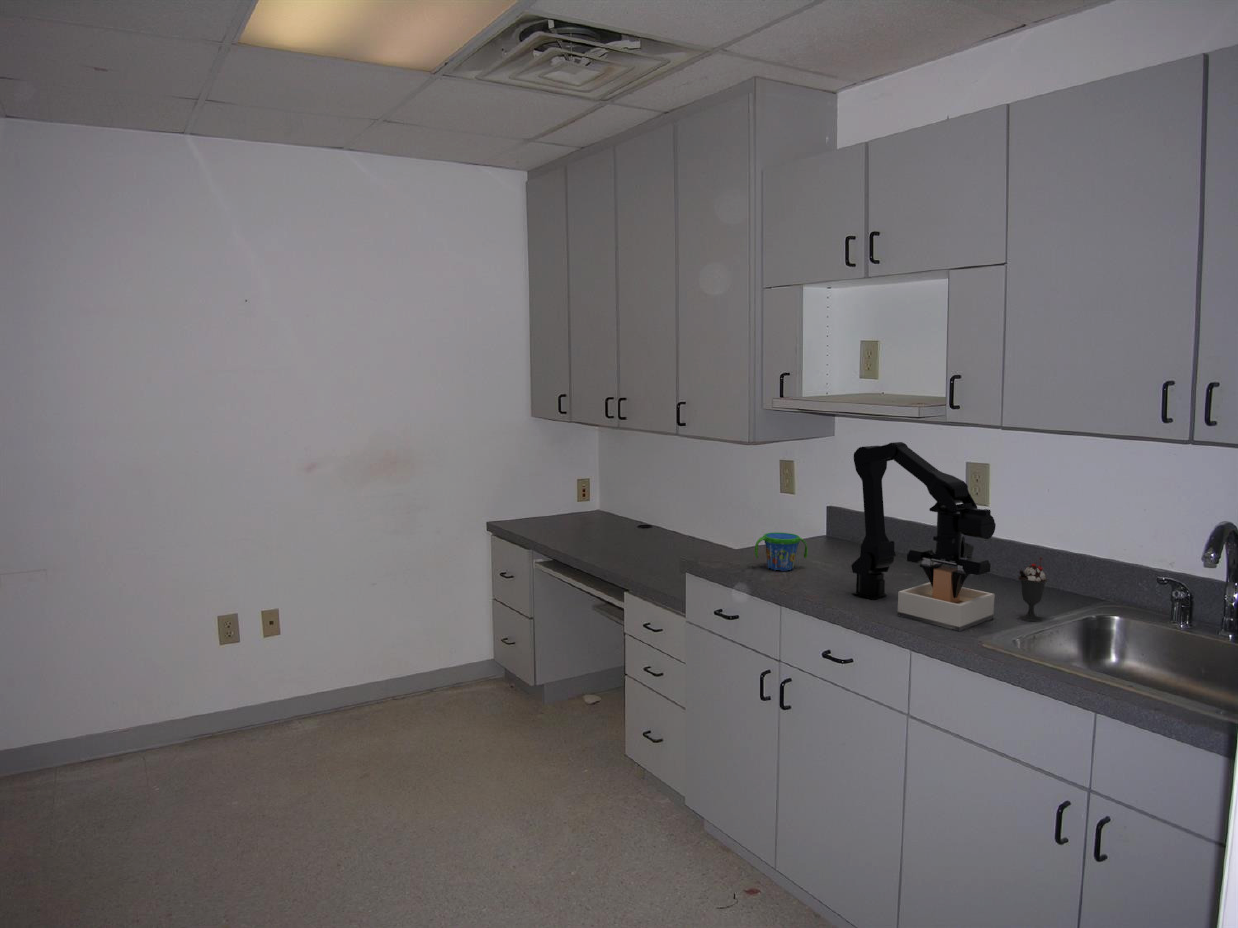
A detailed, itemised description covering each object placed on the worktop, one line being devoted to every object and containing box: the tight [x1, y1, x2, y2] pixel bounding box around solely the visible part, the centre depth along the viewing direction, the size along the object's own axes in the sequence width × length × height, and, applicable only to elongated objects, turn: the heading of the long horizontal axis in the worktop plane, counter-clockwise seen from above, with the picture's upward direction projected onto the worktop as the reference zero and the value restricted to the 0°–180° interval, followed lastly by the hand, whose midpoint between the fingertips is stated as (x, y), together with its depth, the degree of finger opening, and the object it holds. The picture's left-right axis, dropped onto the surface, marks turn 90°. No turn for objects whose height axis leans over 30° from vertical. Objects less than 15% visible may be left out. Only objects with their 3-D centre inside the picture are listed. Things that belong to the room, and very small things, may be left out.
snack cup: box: [754, 531, 809, 572], centre depth 258 cm, size 16×10×10 cm
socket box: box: [896, 581, 996, 632], centre depth 210 cm, size 16×16×6 cm
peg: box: [933, 565, 960, 604], centre depth 209 cm, size 4×4×9 cm
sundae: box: [1017, 557, 1049, 623], centre depth 208 cm, size 7×7×15 cm
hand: (946, 595), depth 210 cm, fingers closed on peg, 4 cm apart
